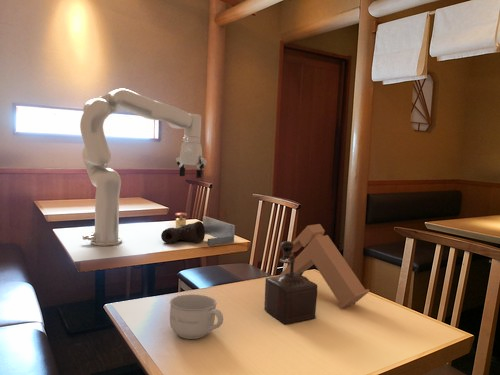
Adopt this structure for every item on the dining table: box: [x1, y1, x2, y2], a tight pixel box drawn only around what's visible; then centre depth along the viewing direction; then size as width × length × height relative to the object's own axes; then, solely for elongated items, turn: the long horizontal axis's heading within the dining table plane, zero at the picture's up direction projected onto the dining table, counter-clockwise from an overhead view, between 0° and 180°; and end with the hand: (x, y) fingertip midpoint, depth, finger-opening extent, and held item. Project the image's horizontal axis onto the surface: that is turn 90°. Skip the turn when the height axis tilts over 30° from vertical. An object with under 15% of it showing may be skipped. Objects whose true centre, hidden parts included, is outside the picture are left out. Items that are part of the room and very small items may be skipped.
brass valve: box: [174, 212, 188, 228], centre depth 204 cm, size 6×6×9 cm
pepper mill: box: [263, 240, 318, 326], centre depth 111 cm, size 16×11×18 cm
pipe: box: [160, 220, 206, 244], centre depth 182 cm, size 10×15×15 cm
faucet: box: [278, 223, 371, 310], centre depth 126 cm, size 7×23×25 cm
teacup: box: [169, 293, 224, 340], centre depth 95 cm, size 14×11×8 cm
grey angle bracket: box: [202, 215, 236, 247], centre depth 190 cm, size 14×24×8 cm, turn 40°
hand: (190, 177), depth 193 cm, fingers open, 9 cm apart
